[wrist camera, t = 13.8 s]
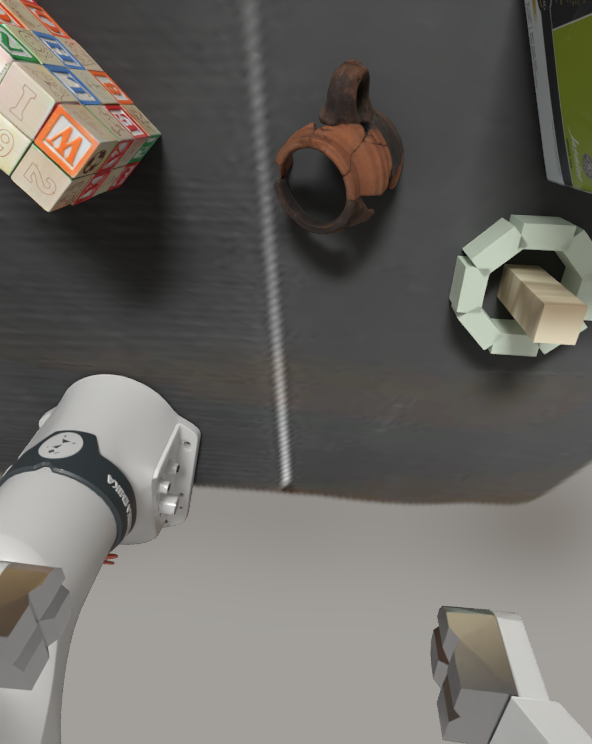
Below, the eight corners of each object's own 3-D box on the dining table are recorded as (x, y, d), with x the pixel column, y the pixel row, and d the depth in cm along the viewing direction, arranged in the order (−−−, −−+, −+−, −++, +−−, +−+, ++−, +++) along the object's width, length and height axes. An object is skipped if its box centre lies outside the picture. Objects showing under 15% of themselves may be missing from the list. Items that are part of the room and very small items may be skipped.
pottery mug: (406, 213, 42) (365, 256, 37) (313, 193, 46) (264, 230, 41) (426, 50, 34) (376, 78, 29) (310, 43, 38) (248, 66, 33)
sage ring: (563, 342, 46) (579, 359, 43) (441, 334, 47) (448, 350, 44) (605, 219, 40) (626, 228, 37) (466, 212, 41) (475, 220, 38)
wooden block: (529, 297, 44) (575, 345, 35) (496, 295, 44) (533, 342, 36) (539, 265, 43) (588, 307, 34) (504, 263, 43) (544, 304, 34)
